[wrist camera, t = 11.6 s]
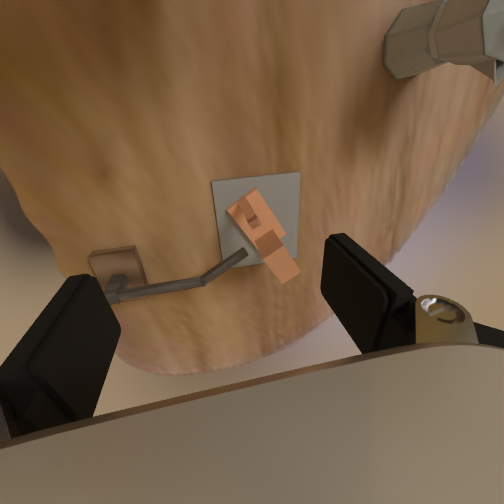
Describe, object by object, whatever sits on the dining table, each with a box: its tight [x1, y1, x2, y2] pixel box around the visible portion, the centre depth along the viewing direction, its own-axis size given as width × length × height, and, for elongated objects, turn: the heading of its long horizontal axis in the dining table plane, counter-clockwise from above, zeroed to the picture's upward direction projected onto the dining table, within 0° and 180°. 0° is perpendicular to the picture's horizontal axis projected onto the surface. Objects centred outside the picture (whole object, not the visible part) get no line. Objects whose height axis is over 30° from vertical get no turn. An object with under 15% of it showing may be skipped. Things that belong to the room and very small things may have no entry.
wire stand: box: [88, 246, 249, 305], centre depth 42 cm, size 10×26×8 cm, turn 93°
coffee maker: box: [383, 0, 504, 87], centre depth 27 cm, size 15×9×18 cm, turn 12°
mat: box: [211, 172, 300, 268], centre depth 44 cm, size 17×15×1 cm
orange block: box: [227, 188, 301, 284], centre depth 37 cm, size 10×6×15 cm, turn 34°
